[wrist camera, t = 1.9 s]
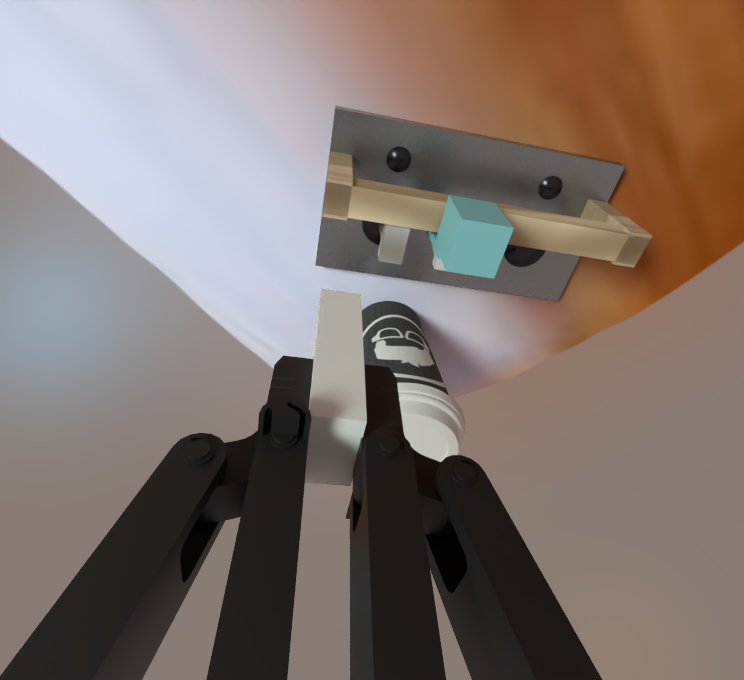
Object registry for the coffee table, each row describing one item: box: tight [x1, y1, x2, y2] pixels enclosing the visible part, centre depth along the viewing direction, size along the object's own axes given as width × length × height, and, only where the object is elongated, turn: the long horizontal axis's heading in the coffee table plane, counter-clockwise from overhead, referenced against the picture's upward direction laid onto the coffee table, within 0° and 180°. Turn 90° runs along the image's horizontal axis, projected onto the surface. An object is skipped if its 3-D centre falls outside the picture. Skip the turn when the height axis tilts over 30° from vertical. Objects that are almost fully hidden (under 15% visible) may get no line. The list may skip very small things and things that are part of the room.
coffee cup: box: [362, 301, 465, 462], centre depth 37 cm, size 10×10×15 cm
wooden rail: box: [322, 151, 652, 268], centre depth 33 cm, size 5×22×6 cm, turn 79°
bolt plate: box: [316, 106, 625, 301], centre depth 36 cm, size 12×22×1 cm, turn 79°
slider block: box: [428, 195, 514, 279], centre depth 30 cm, size 6×3×10 cm, turn 169°
